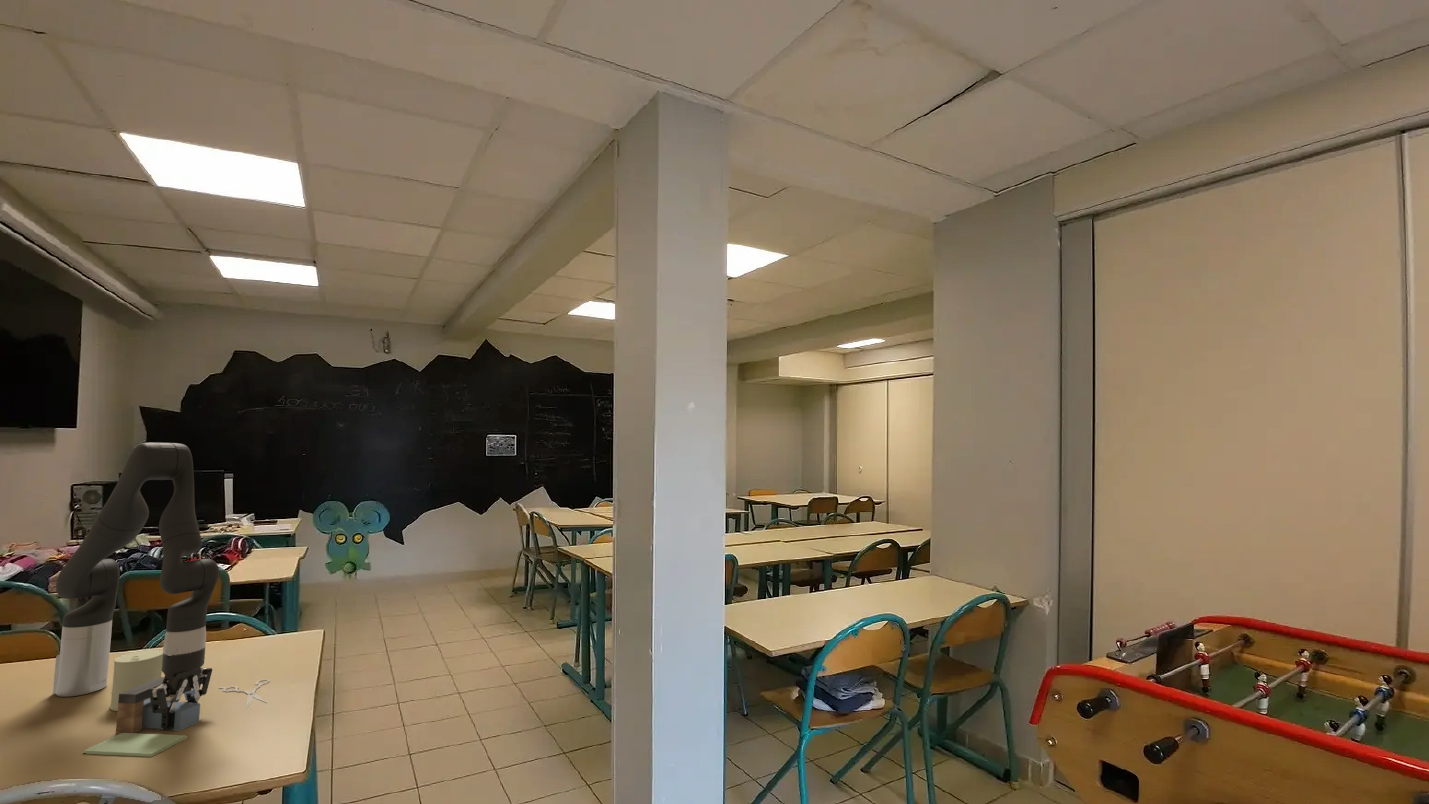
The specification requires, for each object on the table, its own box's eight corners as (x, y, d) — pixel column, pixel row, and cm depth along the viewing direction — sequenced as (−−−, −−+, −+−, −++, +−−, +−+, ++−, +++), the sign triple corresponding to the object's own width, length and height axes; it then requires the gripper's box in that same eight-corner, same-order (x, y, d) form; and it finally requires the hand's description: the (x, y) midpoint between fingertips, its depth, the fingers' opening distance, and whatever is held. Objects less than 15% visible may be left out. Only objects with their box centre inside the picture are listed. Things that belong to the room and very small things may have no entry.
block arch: (115, 733, 137) (118, 693, 138) (158, 713, 147) (161, 677, 148) (132, 733, 137) (135, 694, 137) (174, 714, 147) (177, 677, 147)
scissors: (267, 676, 170) (283, 697, 156) (267, 679, 170) (282, 700, 156) (218, 687, 163) (230, 710, 149) (218, 690, 162) (230, 713, 148)
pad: (82, 753, 128) (83, 750, 128) (121, 735, 136) (122, 732, 136) (151, 756, 127) (151, 753, 127) (186, 738, 135) (186, 735, 135)
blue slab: (127, 726, 141) (128, 706, 141) (147, 718, 145) (149, 699, 145) (180, 731, 139) (181, 711, 139) (198, 723, 143) (200, 703, 143)
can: (102, 714, 146) (107, 662, 147) (118, 699, 154) (122, 650, 155) (153, 707, 151) (157, 656, 151) (165, 693, 159) (169, 645, 160)
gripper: (196, 637, 150) (191, 709, 149) (139, 657, 136) (132, 737, 134) (226, 638, 150) (220, 710, 148) (171, 659, 135) (165, 738, 134)
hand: (178, 723), depth 141 cm, fingers open, 5 cm apart
